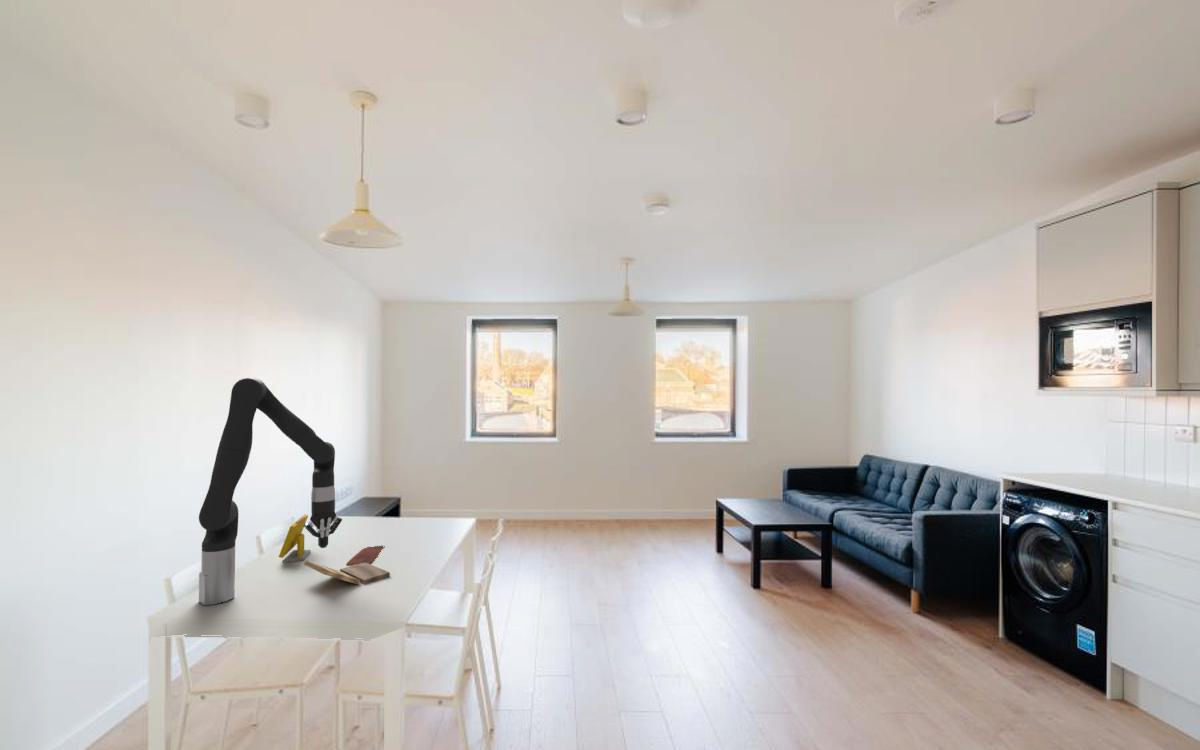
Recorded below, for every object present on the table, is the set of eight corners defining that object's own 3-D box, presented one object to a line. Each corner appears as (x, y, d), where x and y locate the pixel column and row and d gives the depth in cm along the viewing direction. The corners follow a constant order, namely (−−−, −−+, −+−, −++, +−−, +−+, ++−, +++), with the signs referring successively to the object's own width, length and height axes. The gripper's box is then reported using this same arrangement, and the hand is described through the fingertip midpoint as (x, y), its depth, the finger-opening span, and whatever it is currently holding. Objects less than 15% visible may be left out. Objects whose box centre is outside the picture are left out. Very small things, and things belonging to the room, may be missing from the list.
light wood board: (324, 574, 184) (326, 570, 184) (303, 564, 194) (305, 560, 194) (358, 584, 193) (360, 580, 194) (337, 574, 203) (339, 570, 204)
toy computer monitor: (293, 550, 233) (294, 514, 233) (313, 549, 235) (314, 513, 235) (278, 565, 213) (278, 525, 214) (300, 564, 215) (300, 524, 216)
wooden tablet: (371, 567, 214) (371, 563, 214) (344, 568, 213) (344, 564, 213) (388, 546, 240) (388, 543, 240) (364, 547, 239) (364, 543, 239)
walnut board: (363, 584, 194) (363, 580, 194) (340, 573, 205) (340, 569, 205) (389, 577, 201) (389, 572, 201) (365, 566, 213) (365, 562, 213)
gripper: (308, 503, 184) (308, 554, 184) (346, 496, 194) (346, 544, 194) (299, 500, 189) (299, 549, 188) (337, 494, 199) (337, 541, 199)
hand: (323, 547), depth 191 cm, fingers closed
